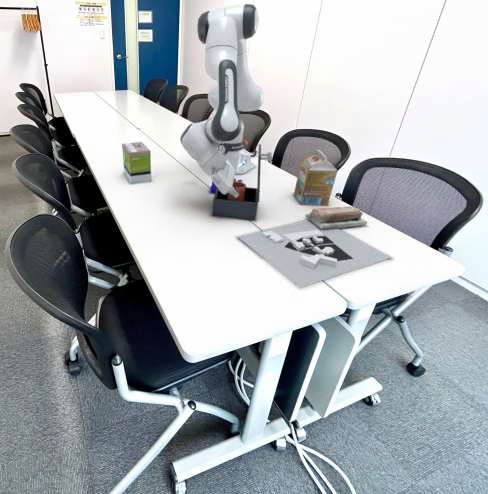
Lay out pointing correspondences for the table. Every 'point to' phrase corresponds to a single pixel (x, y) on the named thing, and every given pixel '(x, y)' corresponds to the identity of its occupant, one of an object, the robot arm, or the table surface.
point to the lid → (269, 158)
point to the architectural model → (312, 251)
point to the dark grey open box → (236, 205)
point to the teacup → (240, 188)
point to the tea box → (137, 162)
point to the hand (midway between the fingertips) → (238, 192)
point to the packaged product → (336, 217)
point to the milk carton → (315, 180)
